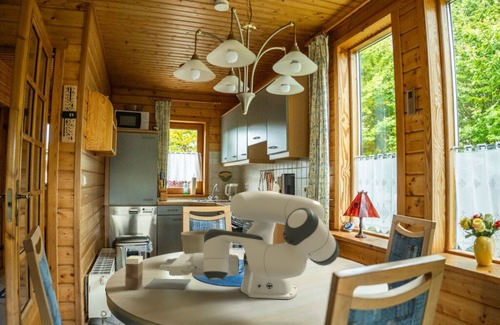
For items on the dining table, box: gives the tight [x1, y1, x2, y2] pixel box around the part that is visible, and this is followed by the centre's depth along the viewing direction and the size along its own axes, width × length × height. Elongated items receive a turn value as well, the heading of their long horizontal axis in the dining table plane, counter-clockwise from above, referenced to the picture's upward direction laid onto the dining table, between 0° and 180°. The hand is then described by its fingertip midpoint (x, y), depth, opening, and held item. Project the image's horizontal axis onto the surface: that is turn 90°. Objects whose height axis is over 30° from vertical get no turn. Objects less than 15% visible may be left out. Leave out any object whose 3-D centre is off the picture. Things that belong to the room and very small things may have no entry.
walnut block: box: [124, 255, 144, 291], centre depth 134 cm, size 5×5×12 cm
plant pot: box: [180, 230, 208, 254], centre depth 171 cm, size 15×15×16 cm
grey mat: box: [144, 278, 191, 290], centre depth 138 cm, size 16×11×1 cm
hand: (163, 264), depth 132 cm, fingers open, 8 cm apart
